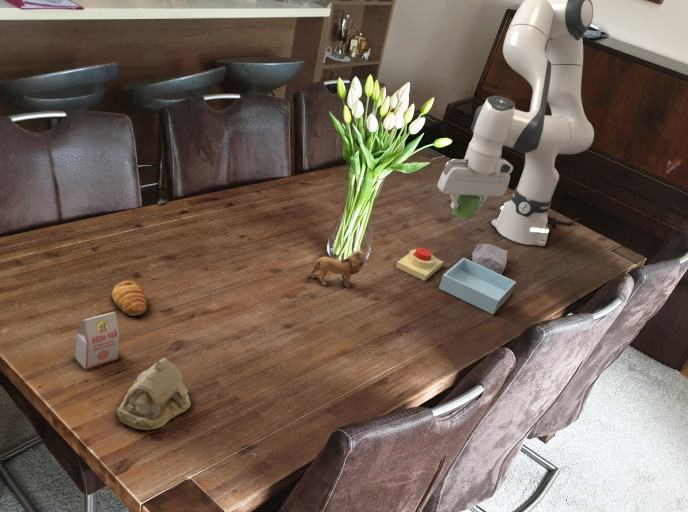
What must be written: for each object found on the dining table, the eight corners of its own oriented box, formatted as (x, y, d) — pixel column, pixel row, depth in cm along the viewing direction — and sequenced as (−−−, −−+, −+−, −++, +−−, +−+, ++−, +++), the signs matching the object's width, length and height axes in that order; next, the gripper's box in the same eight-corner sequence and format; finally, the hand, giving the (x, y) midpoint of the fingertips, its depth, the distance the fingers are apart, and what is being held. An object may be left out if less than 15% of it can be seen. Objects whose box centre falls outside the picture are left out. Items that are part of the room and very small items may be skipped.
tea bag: (75, 358, 144) (77, 315, 139) (107, 348, 149) (110, 306, 143) (85, 369, 142) (87, 325, 137) (117, 359, 147) (120, 316, 141)
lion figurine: (355, 276, 196) (363, 246, 191) (362, 287, 192) (371, 257, 187) (302, 275, 190) (309, 244, 185) (308, 287, 186) (316, 255, 181)
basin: (458, 270, 213) (463, 257, 211) (511, 295, 208) (516, 281, 206) (438, 288, 201) (443, 274, 199) (493, 314, 197) (498, 300, 194)
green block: (460, 210, 209) (467, 190, 206) (473, 217, 207) (480, 197, 204) (451, 213, 206) (458, 193, 203) (464, 220, 204) (471, 200, 201)
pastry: (153, 316, 161) (155, 301, 159) (122, 319, 158) (123, 304, 156) (139, 292, 167) (140, 277, 165) (108, 295, 164) (109, 280, 162)
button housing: (413, 253, 215) (417, 243, 213) (441, 266, 212) (445, 256, 210) (395, 267, 206) (398, 256, 204) (424, 281, 203) (428, 269, 201)
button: (418, 251, 210) (420, 246, 209) (432, 258, 208) (434, 252, 207) (411, 256, 206) (413, 250, 205) (425, 263, 205) (427, 257, 204)
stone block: (470, 272, 218) (505, 276, 216) (472, 256, 215) (507, 260, 214) (472, 256, 228) (505, 260, 226) (474, 241, 225) (508, 245, 224)
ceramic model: (145, 376, 145) (149, 334, 139) (198, 397, 143) (205, 355, 138) (105, 418, 133) (108, 373, 128) (162, 441, 132) (168, 397, 126)
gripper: (453, 163, 191) (438, 212, 199) (518, 167, 200) (501, 215, 207) (442, 153, 195) (427, 202, 203) (505, 158, 204) (489, 204, 212)
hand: (465, 208), depth 205 cm, fingers closed on green block, 6 cm apart
